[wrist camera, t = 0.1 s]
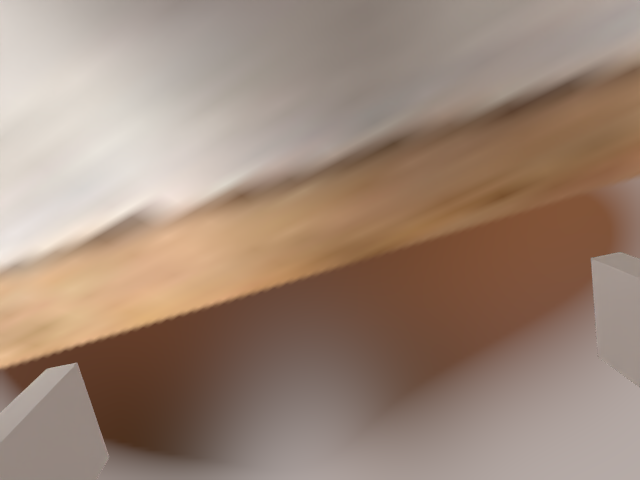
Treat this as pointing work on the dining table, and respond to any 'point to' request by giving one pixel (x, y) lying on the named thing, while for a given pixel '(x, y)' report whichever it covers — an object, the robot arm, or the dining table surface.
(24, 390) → the robot arm
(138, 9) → the dining table surface
